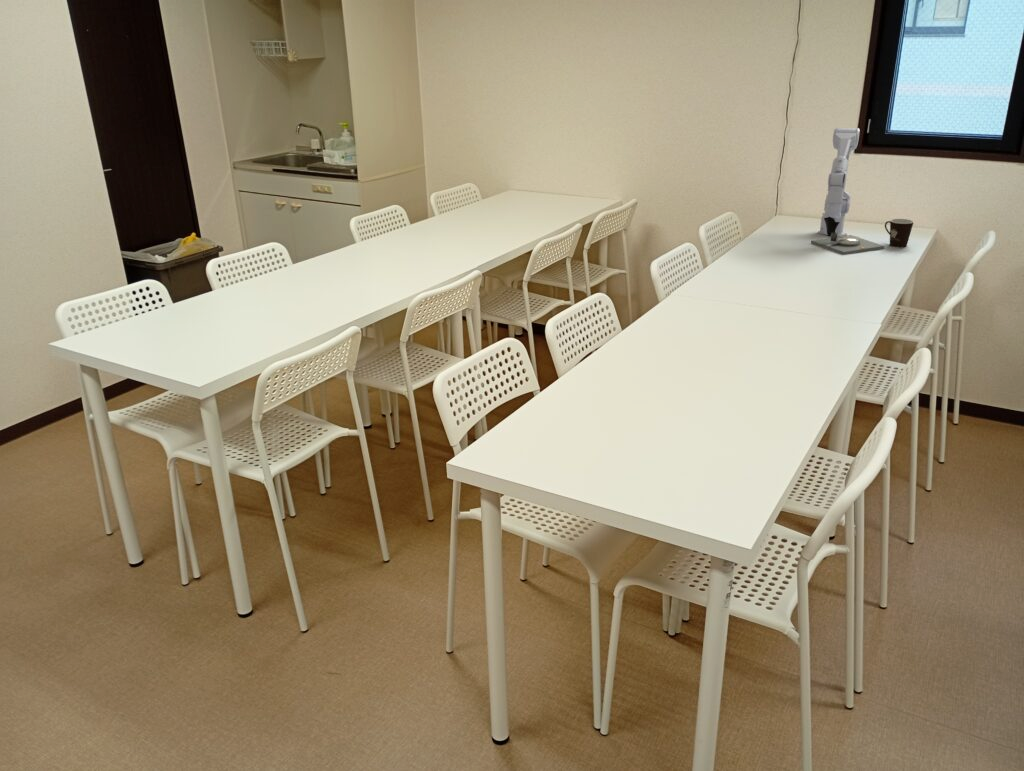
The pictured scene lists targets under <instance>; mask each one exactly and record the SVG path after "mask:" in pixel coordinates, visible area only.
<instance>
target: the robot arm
mask: <svg viewBox="0 0 1024 771" xmlns="http://www.w3.org/2000/svg"><path fill="white" fill-rule="evenodd" d="M860 132H861V131H860V128H859V127H857V128H854V127H852V128H849V127H835V128H834V129H833V136H832V145H833V149H835V150H837V155H836V157H835V158H834V159H833V160H832V165H831V170H830V173H829V174H828V180H827V195H826V197H825V200H824V201H825V202H824V208H823V209H824V210H823V211H824V212H823V213H822V215H821V219H820V228H819V230H818V231H817V232H818V233H819V234H822V235H825V236H828V237H831V233H832V232H838V235H837V236H842V235H848V234H847V232H844V228H845V226H844V225H845V218H846V214H848V213H850V207H851V195H850V193H849V192H847V191H846V183H847V175H848V168H849V161H850V156H851V154H852V151H854V150H856V149H857V147H858V144H859V140H860V139H859V138H860Z"/></svg>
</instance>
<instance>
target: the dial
mask: <svg viewBox="0 0 1024 771" xmlns="http://www.w3.org/2000/svg"><path fill="white" fill-rule="evenodd" d="M837 235H838V232H832V233H831V236H830V238H831V240H830V244H833V245H834V244H838V245H842V246H857V245H860V243H861V239H862V238H861V237H860V236H855V235H852V236H849V235H850V234H849V235H848V234H847V235H842V236H837Z"/></svg>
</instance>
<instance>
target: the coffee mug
mask: <svg viewBox="0 0 1024 771" xmlns="http://www.w3.org/2000/svg"><path fill="white" fill-rule="evenodd" d="M888 223H889V226H890V227H889V229H888V227H887V225H888ZM914 223H915V221H914V220H911V219H907V218H892V219H890V220H889V221H886V222H885V223H884V229H885V231H886V232H887V234H888V235H889V246H890V247H893V248H906V247H907V246H908V243H909V239H910V237H911V232H912V230H913V229H912V228H913V225H914Z"/></svg>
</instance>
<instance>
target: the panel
mask: <svg viewBox="0 0 1024 771" xmlns="http://www.w3.org/2000/svg"><path fill="white" fill-rule="evenodd" d="M849 236H853V235H851V234H849ZM830 240H831V237H827V238H820V239H819V238H818V239H813V240H810V244H811V245H814V246H817V247H820V248H823V249H826V250H829V251H831V252H834V253H837V254H840V255H842V256H844V255H851V254H859V253H864V252H865V253H866V252H871V251H873V252H874V251H879V250H884V249H885V245H884V244H883V245H882V244H880V243H876V242H873V241H870V240H869V239H868V240H867V239H864V238H861V243H860V245H857V246H842V245H838V244H834V245H833V244H830Z"/></svg>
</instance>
